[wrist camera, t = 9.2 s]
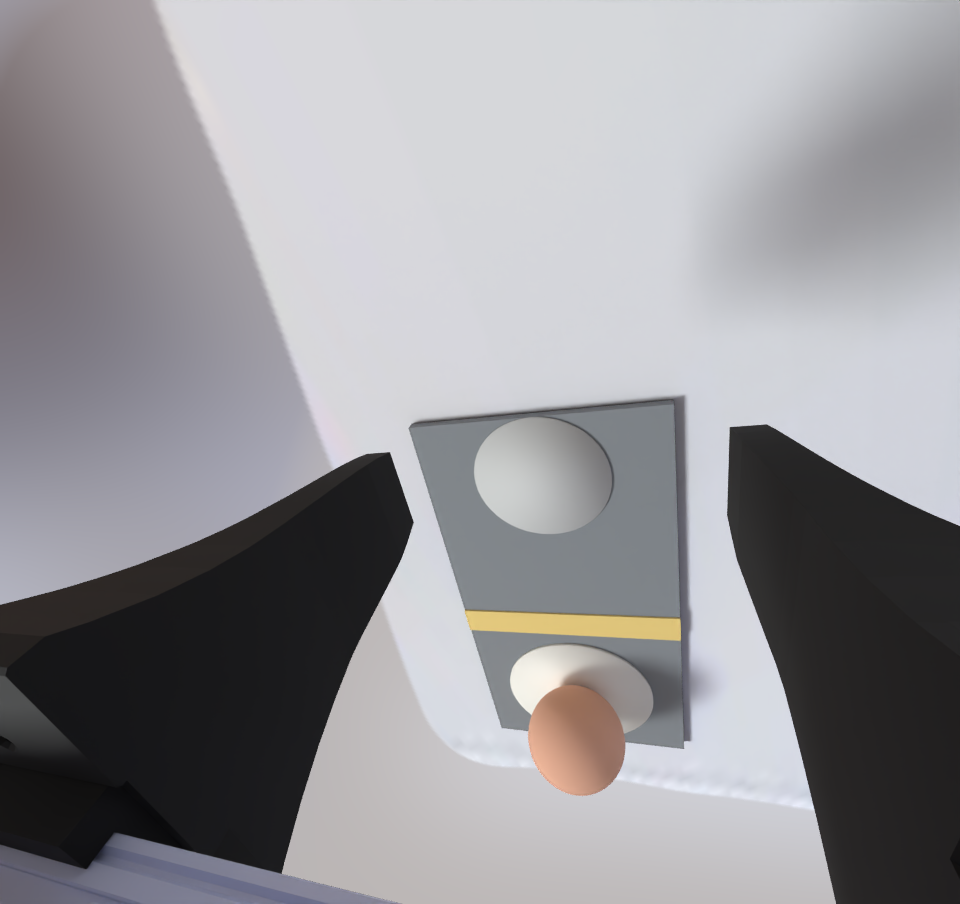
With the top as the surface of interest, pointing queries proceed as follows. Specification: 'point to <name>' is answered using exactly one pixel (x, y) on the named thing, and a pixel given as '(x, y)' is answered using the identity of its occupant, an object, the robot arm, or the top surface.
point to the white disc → (583, 679)
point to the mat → (565, 542)
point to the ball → (576, 740)
